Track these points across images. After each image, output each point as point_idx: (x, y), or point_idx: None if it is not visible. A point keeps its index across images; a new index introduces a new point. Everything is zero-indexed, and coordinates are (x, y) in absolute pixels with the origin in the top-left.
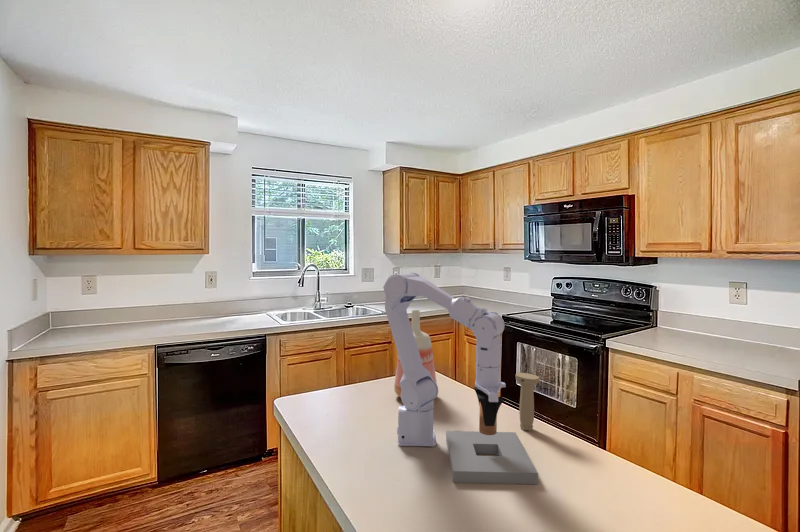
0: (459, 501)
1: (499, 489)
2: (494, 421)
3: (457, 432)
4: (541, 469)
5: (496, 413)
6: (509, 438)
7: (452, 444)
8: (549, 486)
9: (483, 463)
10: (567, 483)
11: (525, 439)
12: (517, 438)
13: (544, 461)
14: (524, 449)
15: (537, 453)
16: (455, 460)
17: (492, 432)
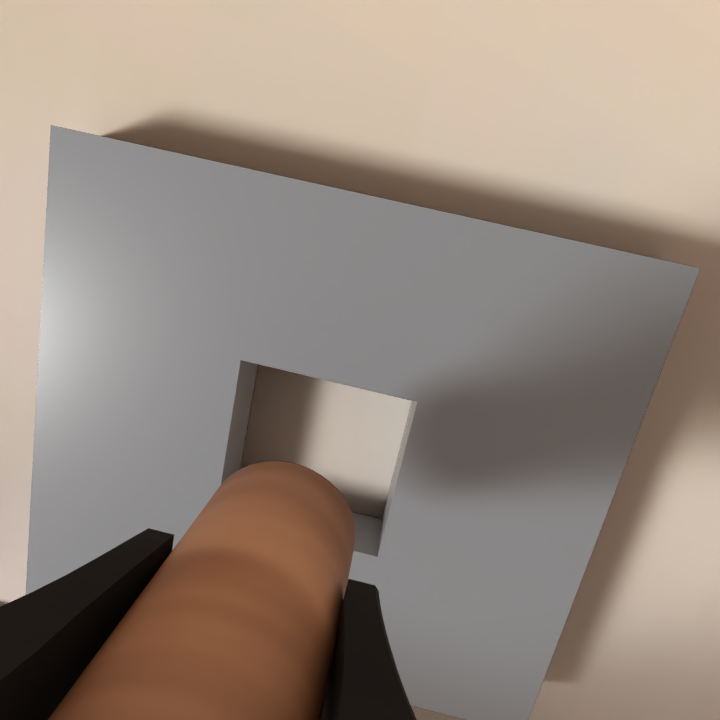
0: (674, 708)
1: (638, 498)
2: (383, 623)
3: (48, 549)
4: (500, 139)
5: (406, 705)
6: (157, 228)
7: None
8: (706, 196)
9: (481, 556)
10: (715, 45)
11: (62, 34)
12: (162, 161)
13: (403, 56)
14: (350, 195)
15: (284, 49)
16: (410, 685)
17: (350, 535)
